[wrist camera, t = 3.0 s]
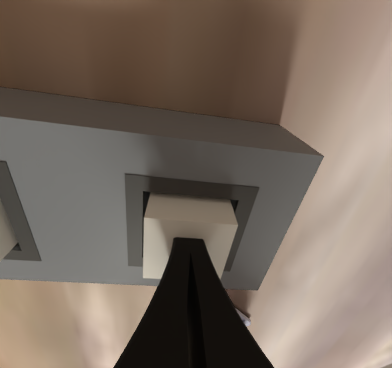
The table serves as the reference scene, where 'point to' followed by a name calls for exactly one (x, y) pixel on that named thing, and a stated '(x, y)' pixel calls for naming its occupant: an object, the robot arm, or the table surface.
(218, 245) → the peg right
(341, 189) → the table surface
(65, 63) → the table surface
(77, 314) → the table surface
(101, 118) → the block
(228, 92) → the table surface
